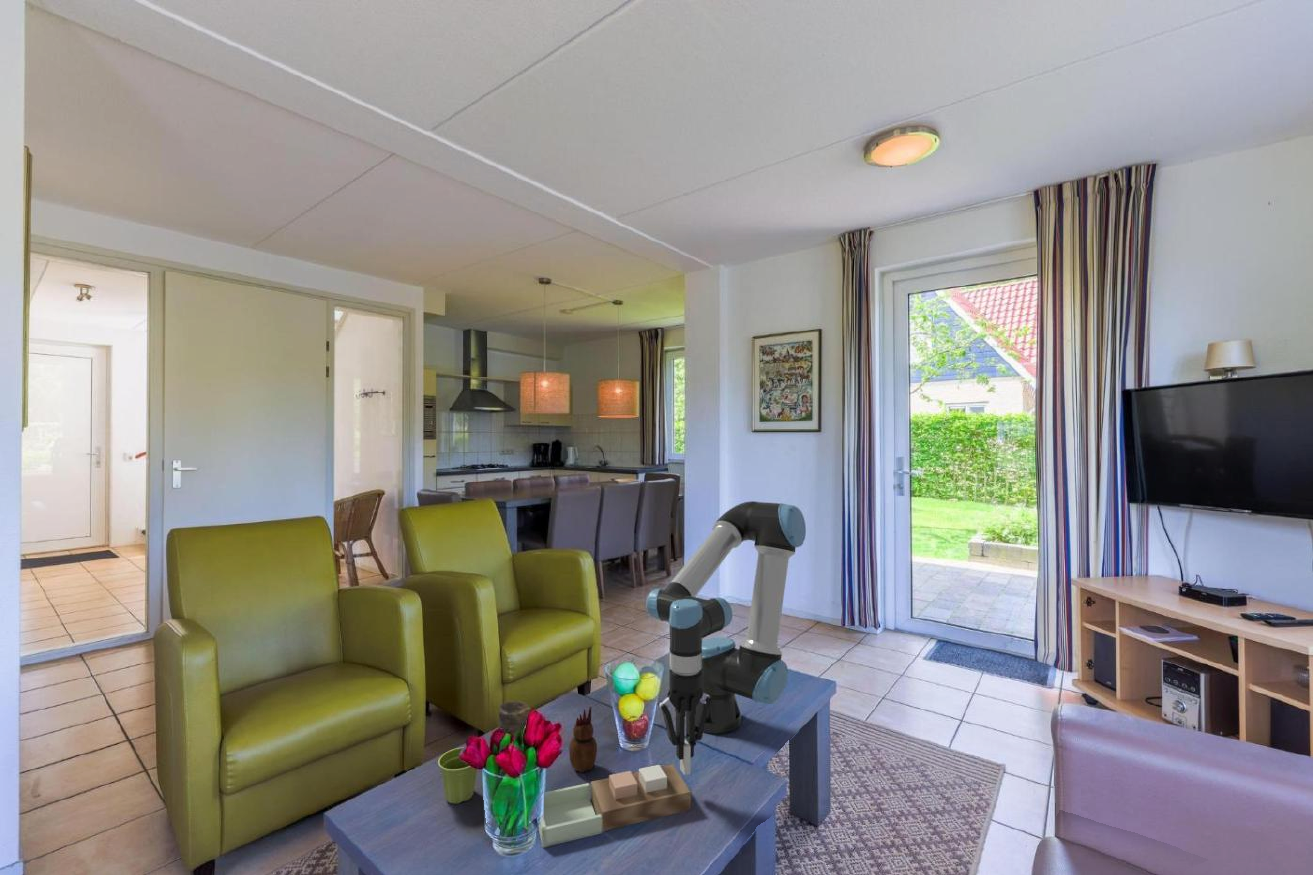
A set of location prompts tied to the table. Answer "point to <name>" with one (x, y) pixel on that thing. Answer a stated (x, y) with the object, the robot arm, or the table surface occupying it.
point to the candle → (513, 716)
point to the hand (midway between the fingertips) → (685, 771)
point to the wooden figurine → (583, 744)
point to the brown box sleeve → (640, 801)
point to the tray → (568, 816)
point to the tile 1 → (622, 785)
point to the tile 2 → (652, 778)
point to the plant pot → (457, 777)
